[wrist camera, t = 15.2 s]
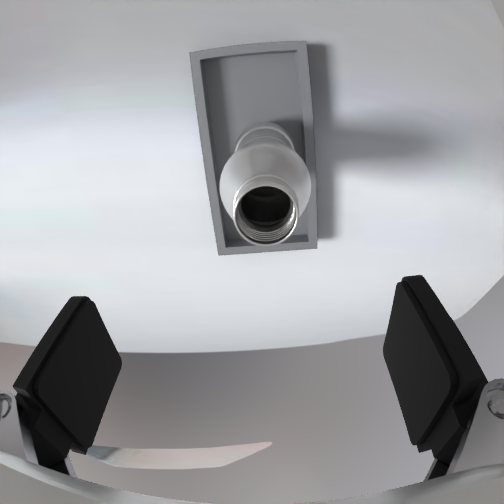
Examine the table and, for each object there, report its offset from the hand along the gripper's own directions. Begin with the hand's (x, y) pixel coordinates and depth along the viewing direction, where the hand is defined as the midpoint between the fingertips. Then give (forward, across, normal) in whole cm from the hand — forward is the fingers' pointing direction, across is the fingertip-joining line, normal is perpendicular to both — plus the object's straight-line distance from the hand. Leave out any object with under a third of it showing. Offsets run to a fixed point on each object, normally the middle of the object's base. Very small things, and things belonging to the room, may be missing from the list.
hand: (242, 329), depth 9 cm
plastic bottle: (+29, -1, 0) cm, 29 cm away
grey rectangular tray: (+29, 0, 0) cm, 29 cm away
